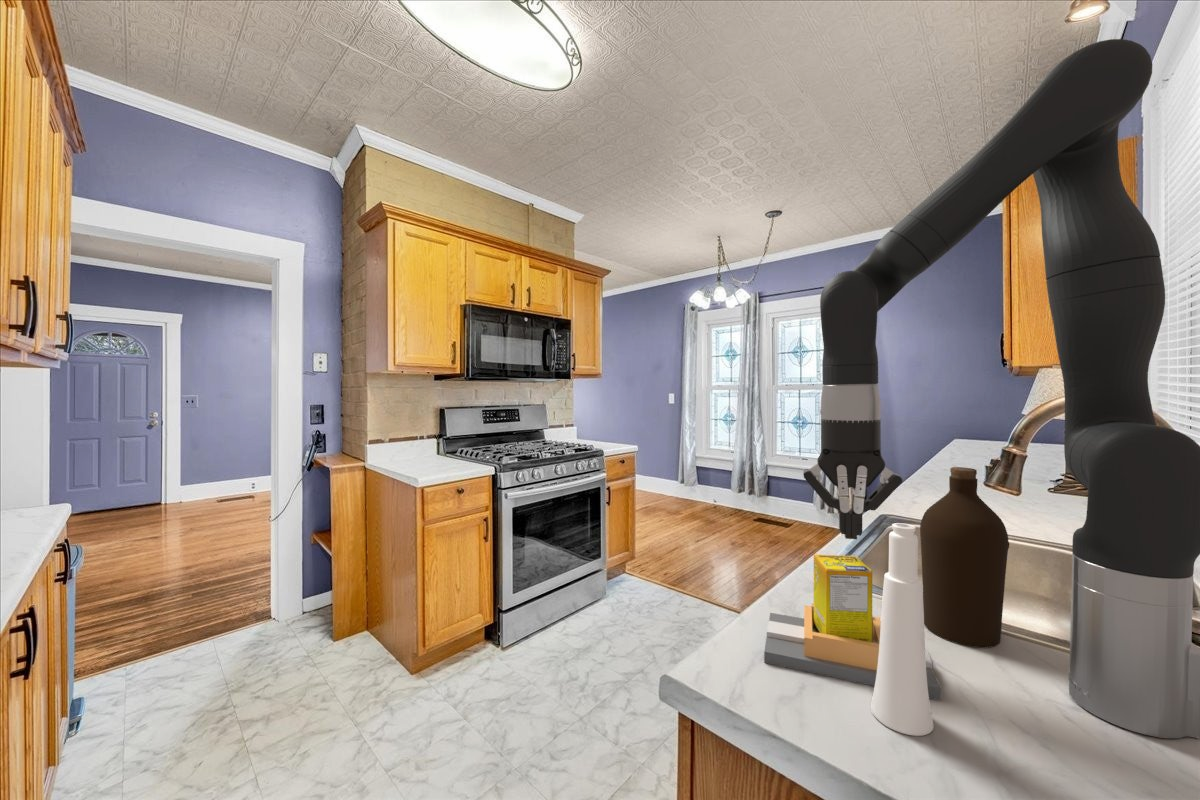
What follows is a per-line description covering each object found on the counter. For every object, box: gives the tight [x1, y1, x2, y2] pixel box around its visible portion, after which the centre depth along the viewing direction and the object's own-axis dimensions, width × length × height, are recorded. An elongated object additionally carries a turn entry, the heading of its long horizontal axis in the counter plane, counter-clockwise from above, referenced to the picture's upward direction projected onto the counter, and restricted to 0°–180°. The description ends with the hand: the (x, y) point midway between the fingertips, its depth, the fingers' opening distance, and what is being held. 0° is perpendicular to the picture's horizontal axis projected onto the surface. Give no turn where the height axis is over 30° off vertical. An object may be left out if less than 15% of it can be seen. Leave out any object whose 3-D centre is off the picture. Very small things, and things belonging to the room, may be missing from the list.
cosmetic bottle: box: [870, 522, 934, 737], centre depth 54 cm, size 6×6×22 cm
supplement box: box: [813, 553, 873, 642], centre depth 66 cm, size 6×6×11 cm
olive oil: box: [919, 466, 1010, 649], centre depth 72 cm, size 11×11×25 cm
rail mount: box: [763, 603, 942, 701], centre depth 66 cm, size 20×12×4 cm, turn 67°
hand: (850, 537), depth 68 cm, fingers closed
